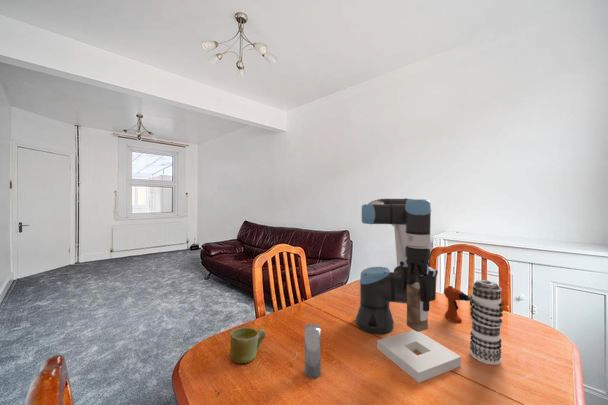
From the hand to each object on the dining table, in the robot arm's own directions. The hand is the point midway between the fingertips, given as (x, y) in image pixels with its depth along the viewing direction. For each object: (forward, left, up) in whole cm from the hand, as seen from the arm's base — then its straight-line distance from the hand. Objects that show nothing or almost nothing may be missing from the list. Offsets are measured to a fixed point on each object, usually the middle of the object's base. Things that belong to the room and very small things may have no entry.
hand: (417, 316), depth 85 cm
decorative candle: (+9, +21, -14) cm, 27 cm away
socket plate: (0, 0, -14) cm, 14 cm away
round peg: (-7, -35, -14) cm, 38 cm away
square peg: (0, 0, -4) cm, 4 cm away
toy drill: (-9, +34, -14) cm, 38 cm away
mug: (-24, -51, -14) cm, 58 cm away
